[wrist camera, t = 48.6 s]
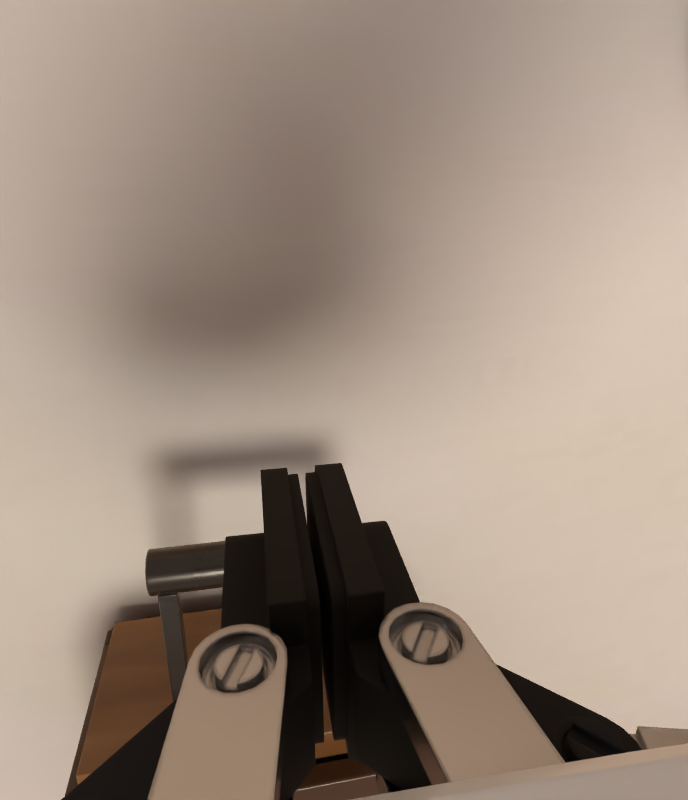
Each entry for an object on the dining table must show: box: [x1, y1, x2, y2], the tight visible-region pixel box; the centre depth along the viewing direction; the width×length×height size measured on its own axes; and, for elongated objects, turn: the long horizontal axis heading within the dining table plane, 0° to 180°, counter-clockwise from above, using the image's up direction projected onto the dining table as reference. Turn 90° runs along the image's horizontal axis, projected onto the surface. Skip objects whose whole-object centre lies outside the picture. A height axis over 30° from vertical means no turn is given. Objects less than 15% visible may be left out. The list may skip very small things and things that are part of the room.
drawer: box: [76, 541, 348, 785], centre depth 23 cm, size 20×12×7 cm, turn 0°
